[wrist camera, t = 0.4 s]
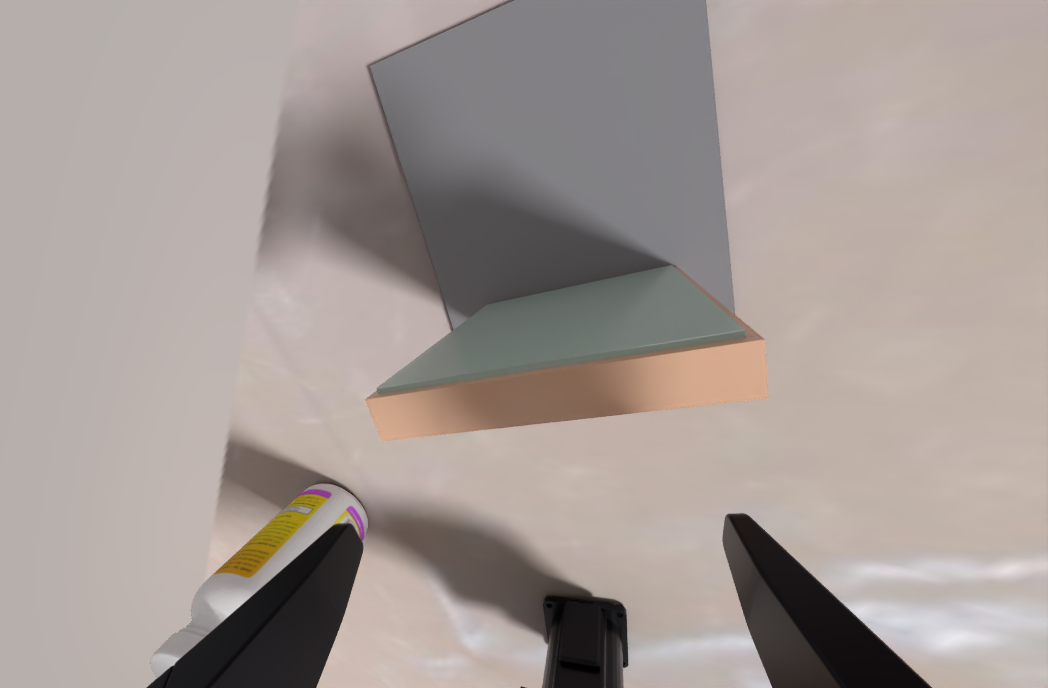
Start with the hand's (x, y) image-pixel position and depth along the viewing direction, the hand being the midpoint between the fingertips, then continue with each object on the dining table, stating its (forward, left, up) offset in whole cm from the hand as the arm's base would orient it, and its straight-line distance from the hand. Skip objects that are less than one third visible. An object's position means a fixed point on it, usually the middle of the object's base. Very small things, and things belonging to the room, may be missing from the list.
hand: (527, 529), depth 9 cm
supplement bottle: (-15, +22, -15) cm, 31 cm away
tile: (+2, 0, -14) cm, 14 cm away
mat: (+7, 0, -15) cm, 16 cm away
